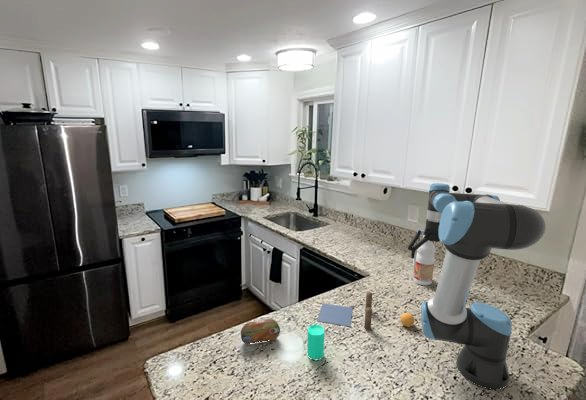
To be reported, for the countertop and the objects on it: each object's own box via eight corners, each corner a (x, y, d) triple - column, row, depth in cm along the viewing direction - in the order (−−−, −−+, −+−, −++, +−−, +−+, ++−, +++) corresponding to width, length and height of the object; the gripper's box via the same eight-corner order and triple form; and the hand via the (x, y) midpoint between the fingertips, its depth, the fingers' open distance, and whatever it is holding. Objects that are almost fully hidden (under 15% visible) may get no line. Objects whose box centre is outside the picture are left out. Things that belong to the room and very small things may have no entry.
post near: (370, 330, 124) (372, 311, 122) (364, 329, 125) (365, 310, 123) (370, 327, 127) (372, 307, 125) (364, 326, 127) (365, 306, 125)
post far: (371, 313, 136) (372, 295, 134) (365, 312, 137) (366, 294, 135) (371, 310, 138) (372, 292, 136) (365, 309, 139) (366, 291, 137)
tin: (241, 347, 114) (240, 327, 113) (240, 341, 117) (239, 322, 116) (280, 340, 118) (280, 321, 116) (278, 335, 121) (278, 316, 119)
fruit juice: (426, 287, 159) (432, 237, 153) (409, 280, 166) (414, 232, 160) (435, 282, 165) (441, 233, 158) (418, 275, 172) (423, 228, 165)
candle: (313, 346, 115) (314, 318, 112) (326, 354, 111) (327, 325, 108) (303, 355, 110) (304, 326, 107) (317, 363, 106) (318, 333, 104)
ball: (414, 330, 124) (416, 318, 123) (400, 328, 126) (401, 316, 125) (413, 322, 130) (414, 311, 128) (399, 320, 131) (400, 309, 130)
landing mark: (350, 326, 127) (350, 326, 127) (317, 321, 130) (317, 320, 130) (352, 308, 140) (352, 307, 140) (322, 303, 143) (322, 303, 143)
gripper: (466, 220, 129) (459, 266, 133) (403, 215, 135) (399, 260, 139) (471, 224, 122) (464, 274, 126) (405, 219, 128) (401, 267, 132)
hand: (430, 267), depth 133 cm, fingers open, 13 cm apart
